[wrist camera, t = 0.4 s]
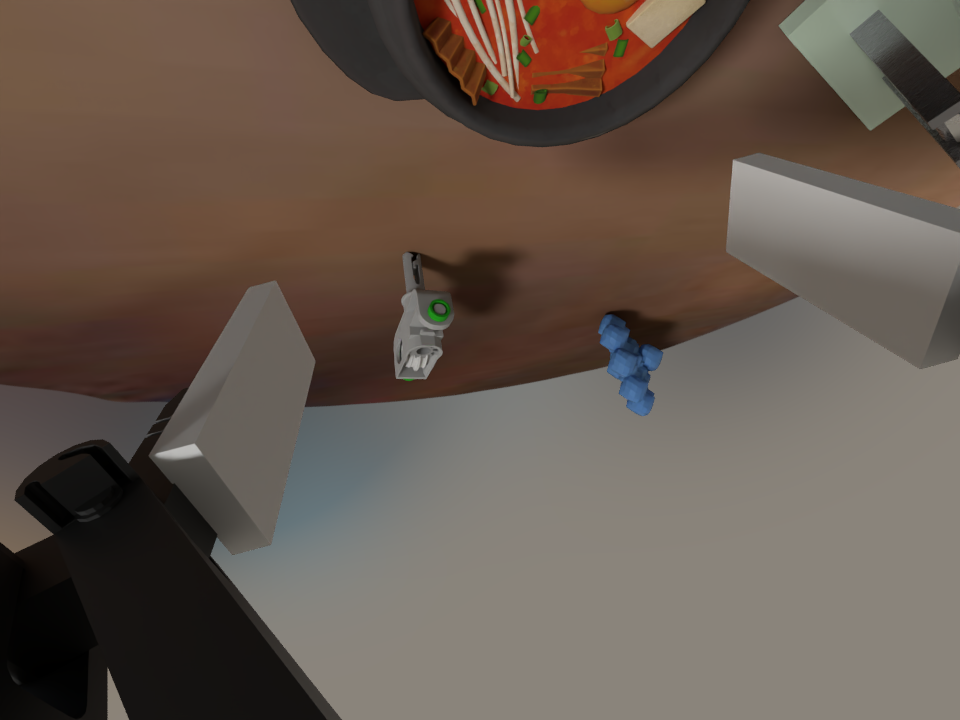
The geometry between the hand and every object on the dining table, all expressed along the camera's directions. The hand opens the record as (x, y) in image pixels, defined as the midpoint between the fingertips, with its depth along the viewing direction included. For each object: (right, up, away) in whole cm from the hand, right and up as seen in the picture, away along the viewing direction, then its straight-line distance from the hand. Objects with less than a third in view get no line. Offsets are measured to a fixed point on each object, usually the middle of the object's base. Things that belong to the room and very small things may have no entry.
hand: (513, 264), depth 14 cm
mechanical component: (-7, +7, +29) cm, 31 cm away
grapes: (+16, +2, +46) cm, 49 cm away
